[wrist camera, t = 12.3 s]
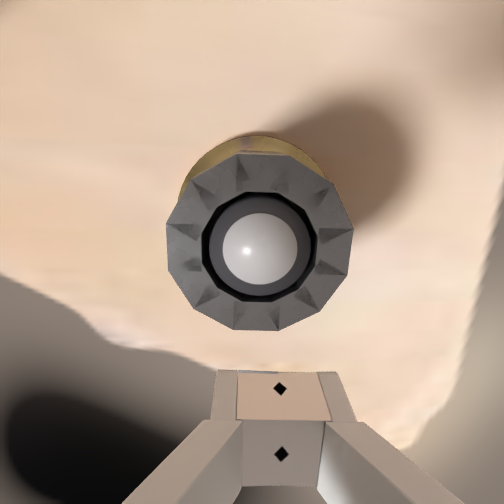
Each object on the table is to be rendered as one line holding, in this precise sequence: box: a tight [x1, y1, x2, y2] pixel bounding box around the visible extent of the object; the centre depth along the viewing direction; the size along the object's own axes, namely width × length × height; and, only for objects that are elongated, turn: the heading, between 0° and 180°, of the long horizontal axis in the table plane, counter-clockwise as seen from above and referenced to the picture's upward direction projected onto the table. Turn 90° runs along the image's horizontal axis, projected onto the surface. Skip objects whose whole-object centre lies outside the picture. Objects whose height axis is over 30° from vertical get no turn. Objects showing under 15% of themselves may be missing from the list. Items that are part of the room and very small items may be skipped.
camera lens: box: [209, 192, 311, 296], centre depth 21 cm, size 6×6×4 cm
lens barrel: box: [166, 136, 353, 331], centre depth 24 cm, size 13×13×9 cm
